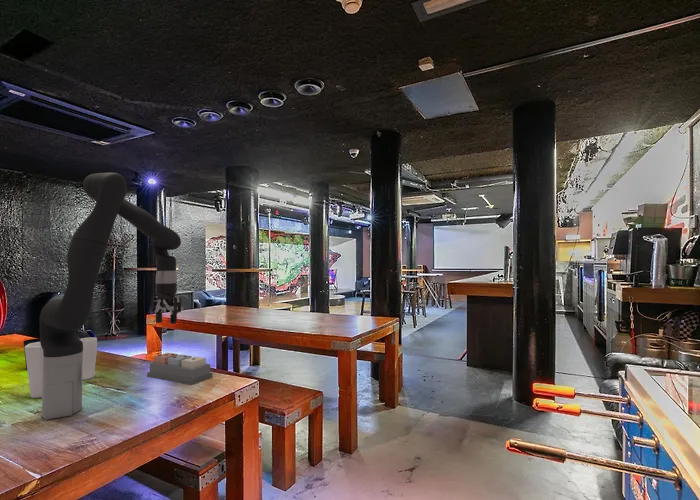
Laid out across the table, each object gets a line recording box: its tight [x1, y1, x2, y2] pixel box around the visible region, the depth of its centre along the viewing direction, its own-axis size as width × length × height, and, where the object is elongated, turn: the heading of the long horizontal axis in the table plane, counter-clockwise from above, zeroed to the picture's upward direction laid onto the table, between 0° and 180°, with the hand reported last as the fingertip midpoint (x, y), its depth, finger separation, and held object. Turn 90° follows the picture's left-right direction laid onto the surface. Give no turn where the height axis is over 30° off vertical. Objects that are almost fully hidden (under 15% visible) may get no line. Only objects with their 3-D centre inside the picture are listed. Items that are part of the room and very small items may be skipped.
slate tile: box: [168, 354, 193, 367], centre depth 138 cm, size 6×6×4 cm
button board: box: [146, 361, 213, 386], centre depth 138 cm, size 24×10×5 cm, turn 65°
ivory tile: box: [181, 356, 207, 369], centre depth 134 cm, size 6×6×4 cm
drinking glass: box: [79, 336, 98, 381], centre depth 137 cm, size 7×7×15 cm
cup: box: [23, 337, 40, 371], centre depth 151 cm, size 8×8×12 cm
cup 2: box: [24, 342, 43, 399], centre depth 120 cm, size 11×10×17 cm
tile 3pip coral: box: [153, 352, 179, 365], centre depth 141 cm, size 6×6×4 cm
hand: (166, 323), depth 142 cm, fingers open, 8 cm apart
